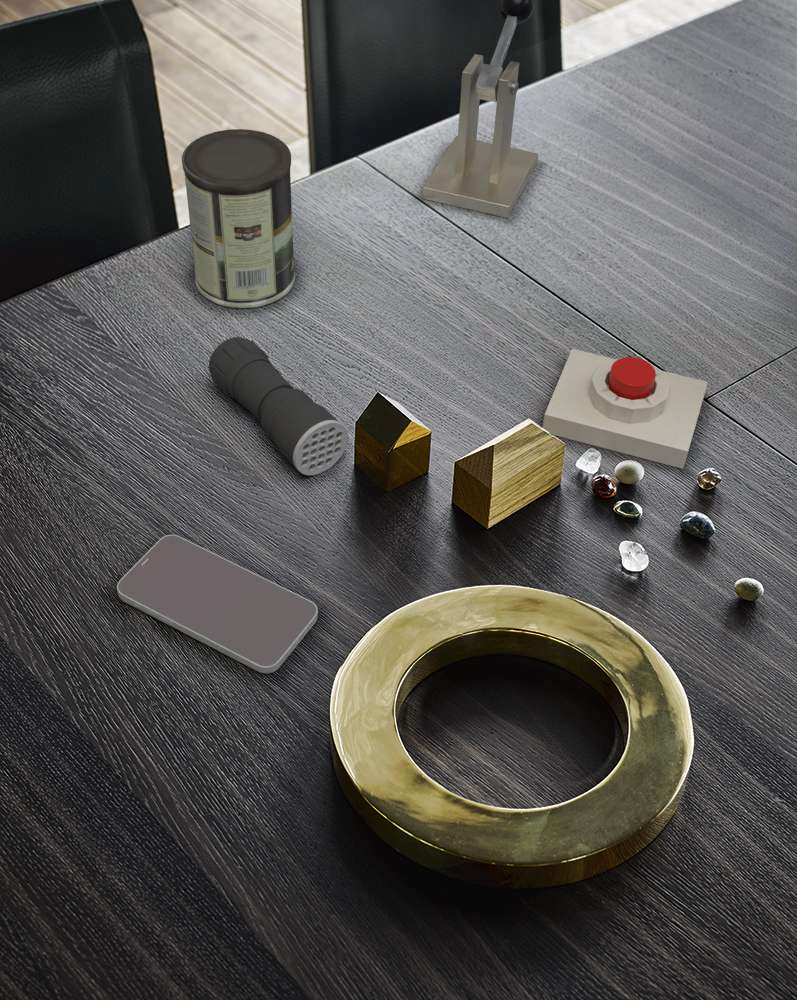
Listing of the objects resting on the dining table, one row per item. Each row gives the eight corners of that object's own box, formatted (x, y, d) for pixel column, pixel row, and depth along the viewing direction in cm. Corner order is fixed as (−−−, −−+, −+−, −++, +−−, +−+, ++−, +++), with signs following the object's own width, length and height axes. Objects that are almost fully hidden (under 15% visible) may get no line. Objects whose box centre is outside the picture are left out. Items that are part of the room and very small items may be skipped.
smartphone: (270, 672, 93) (110, 589, 98) (270, 680, 94) (111, 597, 99) (323, 606, 98) (168, 530, 102) (323, 613, 98) (169, 537, 103)
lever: (506, 0, 139) (505, -22, 136) (537, 6, 138) (537, -16, 135) (471, 100, 136) (468, 80, 132) (502, 107, 135) (501, 87, 132)
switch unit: (455, 146, 148) (463, 34, 138) (537, 164, 146) (551, 51, 136) (422, 199, 140) (428, 83, 130) (508, 218, 138) (521, 102, 128)
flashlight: (205, 389, 116) (200, 343, 113) (254, 367, 119) (251, 322, 115) (297, 484, 108) (295, 438, 104) (348, 459, 110) (348, 413, 106)
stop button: (656, 377, 114) (660, 363, 113) (647, 405, 111) (650, 390, 110) (613, 367, 115) (616, 352, 114) (603, 394, 112) (606, 379, 111)
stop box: (703, 399, 118) (712, 366, 115) (683, 469, 111) (692, 436, 108) (568, 366, 120) (574, 333, 118) (541, 432, 114) (546, 399, 111)
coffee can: (256, 238, 133) (250, 117, 123) (315, 284, 128) (313, 162, 118) (174, 272, 129) (160, 149, 119) (231, 322, 123) (221, 198, 113)
